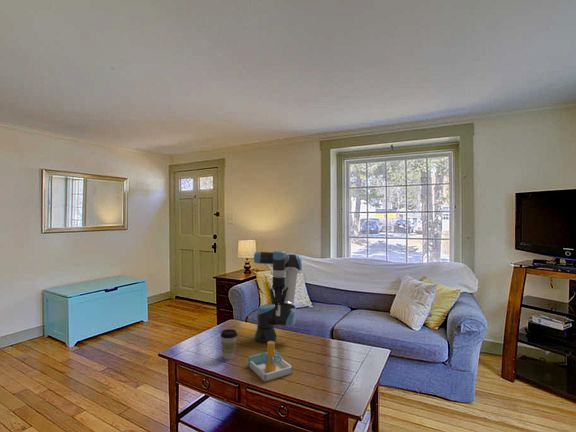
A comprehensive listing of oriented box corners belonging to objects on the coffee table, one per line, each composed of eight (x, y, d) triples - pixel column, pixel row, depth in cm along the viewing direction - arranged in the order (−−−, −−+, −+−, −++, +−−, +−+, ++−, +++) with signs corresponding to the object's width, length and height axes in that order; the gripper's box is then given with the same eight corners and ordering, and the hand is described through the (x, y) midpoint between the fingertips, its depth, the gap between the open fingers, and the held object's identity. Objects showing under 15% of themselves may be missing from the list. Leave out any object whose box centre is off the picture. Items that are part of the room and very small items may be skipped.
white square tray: (273, 358, 182) (273, 352, 182) (292, 373, 164) (292, 366, 164) (247, 365, 173) (247, 358, 173) (264, 381, 155) (264, 375, 155)
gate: (275, 358, 182) (275, 347, 182) (277, 359, 180) (277, 349, 180) (247, 365, 172) (248, 354, 172) (249, 366, 170) (249, 355, 171)
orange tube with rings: (284, 367, 170) (284, 340, 170) (277, 376, 160) (278, 347, 160) (263, 363, 174) (264, 337, 174) (256, 372, 164) (257, 344, 164)
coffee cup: (233, 361, 176) (233, 335, 177) (217, 359, 178) (217, 334, 179) (239, 354, 186) (239, 329, 186) (224, 352, 188) (224, 328, 188)
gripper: (284, 274, 192) (283, 312, 192) (266, 276, 185) (265, 315, 185) (291, 276, 186) (290, 315, 186) (272, 278, 179) (271, 318, 179)
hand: (277, 315), depth 185 cm, fingers closed
